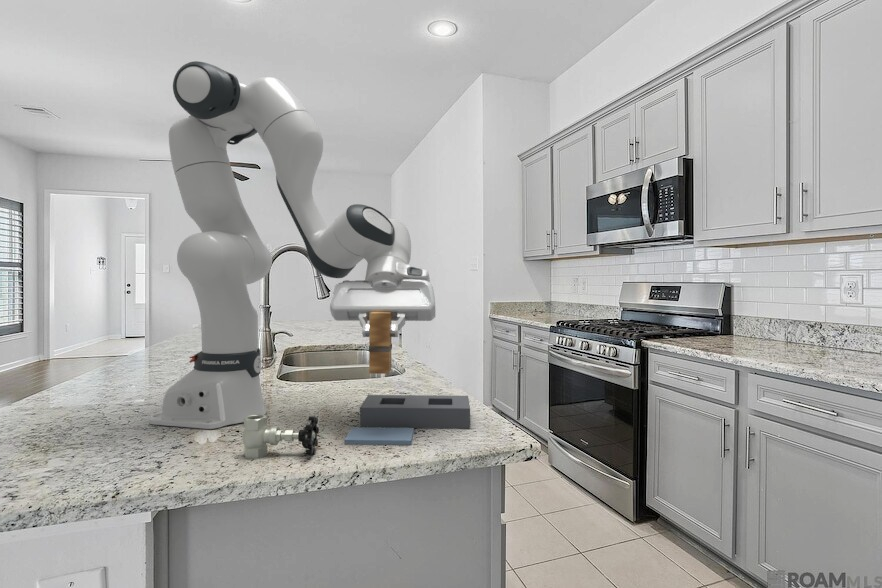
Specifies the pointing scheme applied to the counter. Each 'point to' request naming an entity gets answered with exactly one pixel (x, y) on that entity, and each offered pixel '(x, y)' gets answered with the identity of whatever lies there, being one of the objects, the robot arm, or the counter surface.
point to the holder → (415, 411)
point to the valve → (275, 436)
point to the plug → (380, 342)
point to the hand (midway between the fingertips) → (380, 335)
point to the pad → (380, 436)
